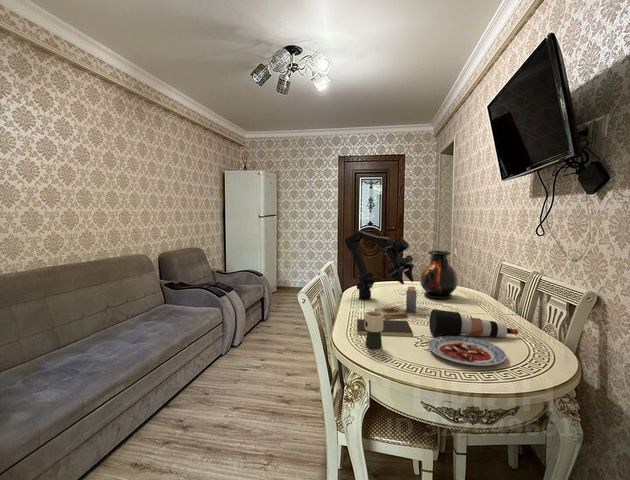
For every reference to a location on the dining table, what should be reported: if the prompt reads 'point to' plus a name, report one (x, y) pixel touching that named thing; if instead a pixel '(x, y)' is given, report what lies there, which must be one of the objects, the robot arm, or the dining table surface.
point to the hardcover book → (388, 327)
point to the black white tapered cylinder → (465, 325)
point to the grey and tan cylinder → (411, 300)
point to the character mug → (373, 328)
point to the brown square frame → (389, 315)
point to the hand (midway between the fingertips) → (408, 282)
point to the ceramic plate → (467, 350)
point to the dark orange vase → (438, 277)
